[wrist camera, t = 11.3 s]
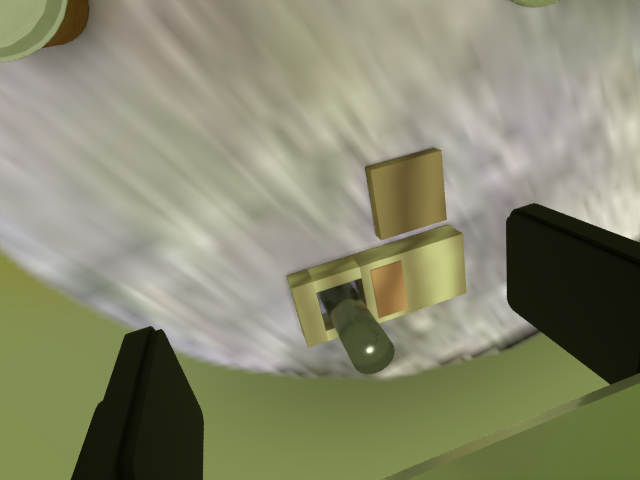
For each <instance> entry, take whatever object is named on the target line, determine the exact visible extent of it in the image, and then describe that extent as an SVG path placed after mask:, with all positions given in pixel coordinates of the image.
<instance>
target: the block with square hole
mask: <svg viewBox="0 0 640 480" xmlns="http://www.w3.org/2000/svg"><path fill="white" fill-rule="evenodd" d="M287 279H288V283H289V286H290V290H291V293H292V297H293V300H294V304H295V307H296V311H297V314H298V318H299V321H300V325H301V328H302V332H303V335H304V337H305V340H306V343H307V346H308V348H309V347H312V346H315V345H318V344H321V343H324V342H327V341H329V340H332V339H335V338H338V337H339V335H338V334H337V332H336V330H335V328H334V326H333V324H332V322H331V320H330V318H329V316H328V314H326V315H323V316H322V313H321V310H320V306H319V302H318V298H317V294H316V293H317V292H320V291H323V290H326V289H329V288H332V287H335V286H338V285H341V284H345V283H348V282H351V281H354V280H355V281H356V286H357V291H358V295H359V296H360V298H361V299H362V301H363V302H364V304H365V305H366V306H367V308H368V309H369V311H370V312H371V314H372V315H373V316H374V318H375V319H376V321H377V322H378V323H381V322H384V321H387V320H390V319H393V318H396V317H399V316H401V315H404V314H407V313H410V312H413V311H416V310H419V309H422V308H425V307H427V306H430V305H433V304H436V303H439V302H442V301H445V300H448V299H450V298H453V297H456V296H459V295H462V294H465V293H466V278H465V261H464V244H463V233H461V232H459V231H458V230H456V229H454V228H453V227H451V226H449V225H446V226H443V227H440V228H436V229H433V230H430V231H427V232H424V233H421V234H417V235H414V236H411V237H408V238H405V239H402V240H398V241H395V242H392V243H389V244H386V245H383V246H379V247H376V248H373V249H370V250H367V251H364V252H360V253H357V254H354V255H351V256H348V257H345V258H341V259H338V260H335V261H332V262H329V263H326V264H322V265H319V266H316V267H313V268H310V269H307V270H303V271H300V272H297V273H294V274H291V275H288V276H287Z"/></svg>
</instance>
